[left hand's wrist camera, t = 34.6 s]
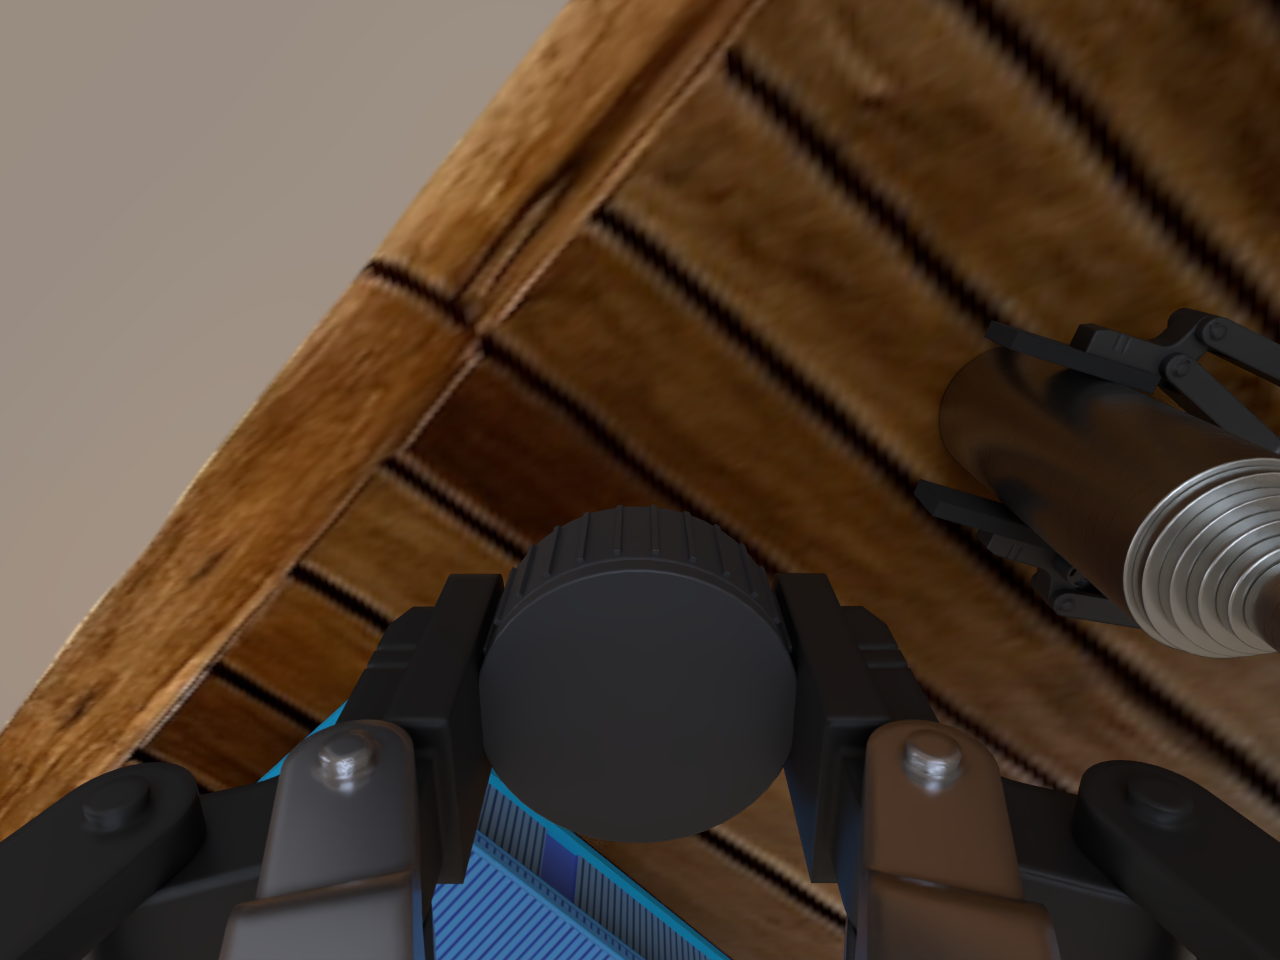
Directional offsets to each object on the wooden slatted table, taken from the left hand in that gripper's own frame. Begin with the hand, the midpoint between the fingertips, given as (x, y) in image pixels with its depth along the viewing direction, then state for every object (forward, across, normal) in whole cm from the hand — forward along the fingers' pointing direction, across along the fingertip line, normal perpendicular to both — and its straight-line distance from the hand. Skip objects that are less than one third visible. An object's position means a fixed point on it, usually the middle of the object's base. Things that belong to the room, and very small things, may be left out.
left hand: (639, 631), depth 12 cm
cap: (-2, 0, 0) cm, 2 cm away
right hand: (+24, +14, -4) cm, 28 cm away
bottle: (+30, +19, -5) cm, 36 cm away
